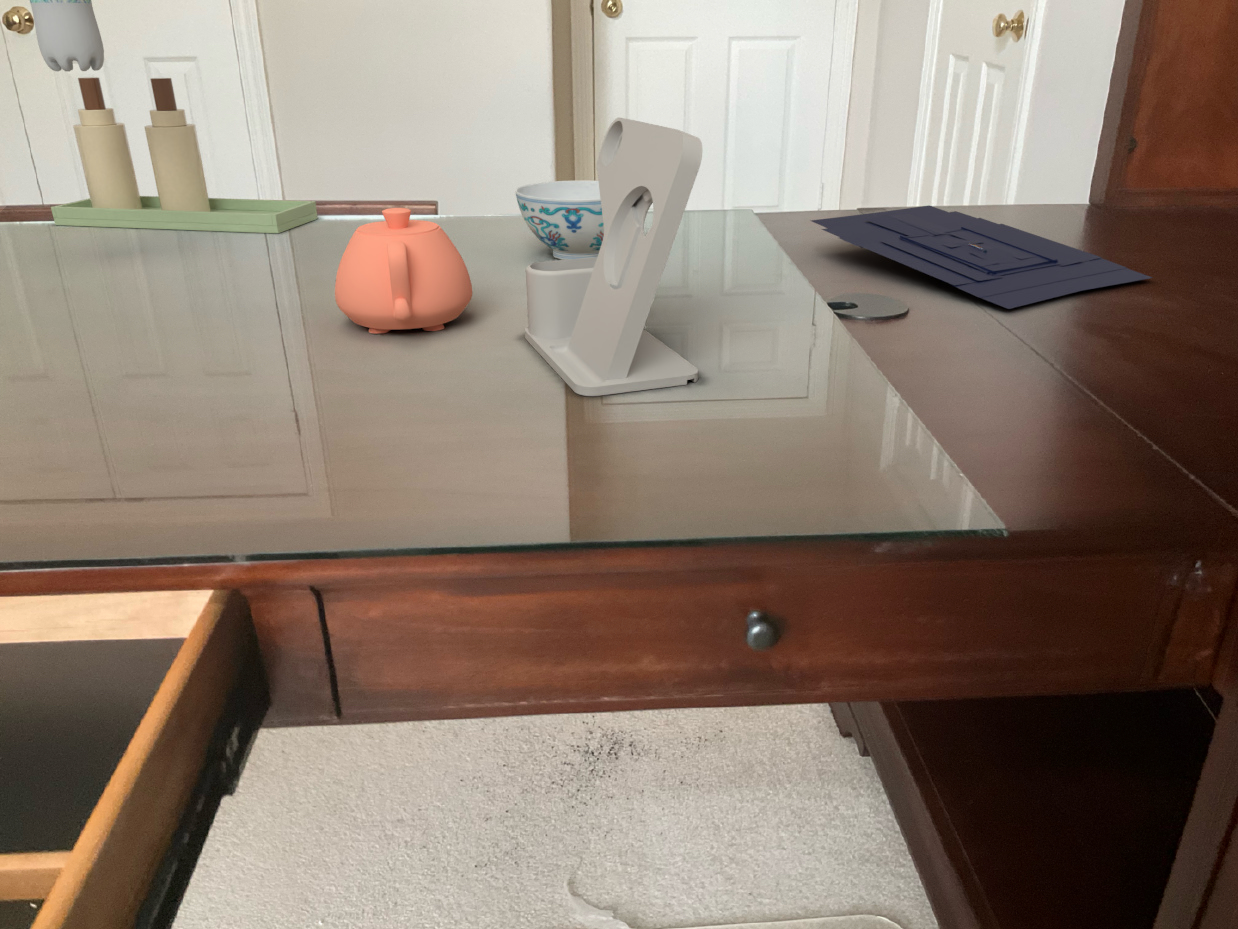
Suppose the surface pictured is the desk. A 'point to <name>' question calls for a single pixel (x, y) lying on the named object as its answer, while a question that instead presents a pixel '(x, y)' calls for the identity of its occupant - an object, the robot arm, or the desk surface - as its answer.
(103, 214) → the tray
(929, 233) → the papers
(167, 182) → the stoneware bottle
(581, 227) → the chinaware
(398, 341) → the desk surface
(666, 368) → the phone holder
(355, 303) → the orange teapot
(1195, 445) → the desk surface
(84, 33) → the bottle
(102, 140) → the stoneware bottle
